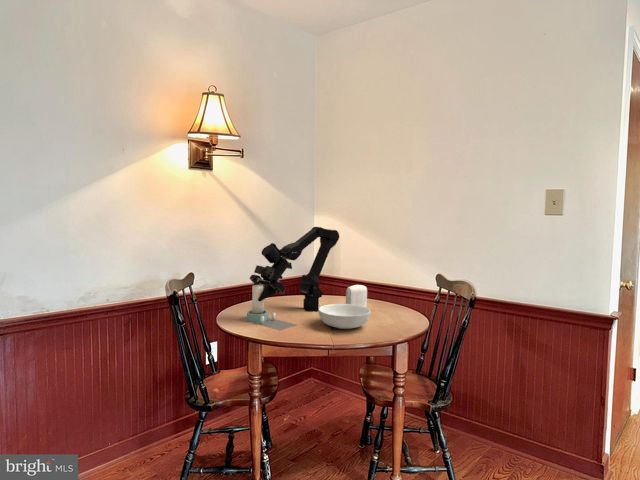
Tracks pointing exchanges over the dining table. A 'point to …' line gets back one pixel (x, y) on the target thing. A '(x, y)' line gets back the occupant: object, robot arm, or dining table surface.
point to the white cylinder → (256, 305)
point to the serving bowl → (344, 315)
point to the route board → (272, 323)
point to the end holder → (256, 316)
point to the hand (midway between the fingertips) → (255, 299)
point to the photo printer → (356, 295)
